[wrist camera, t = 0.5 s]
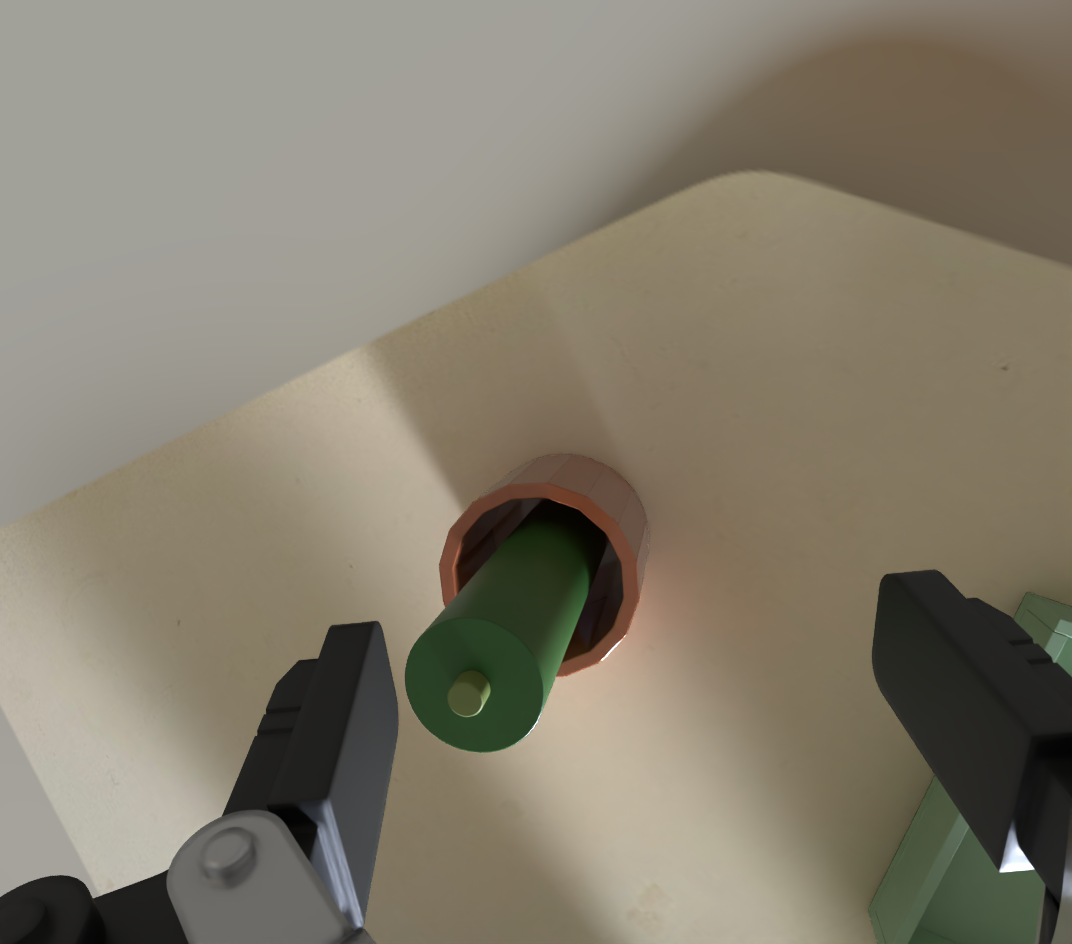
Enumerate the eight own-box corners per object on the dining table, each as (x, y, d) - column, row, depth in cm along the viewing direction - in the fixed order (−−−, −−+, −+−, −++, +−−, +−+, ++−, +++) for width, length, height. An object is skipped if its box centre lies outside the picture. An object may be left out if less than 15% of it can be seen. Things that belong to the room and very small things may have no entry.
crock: (512, 431, 36) (470, 455, 29) (672, 486, 35) (667, 524, 28) (467, 579, 38) (418, 635, 31) (617, 636, 37) (600, 706, 30)
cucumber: (535, 485, 35) (414, 606, 20) (617, 514, 35) (558, 661, 19) (510, 563, 36) (378, 736, 21) (590, 592, 36) (513, 791, 20)
